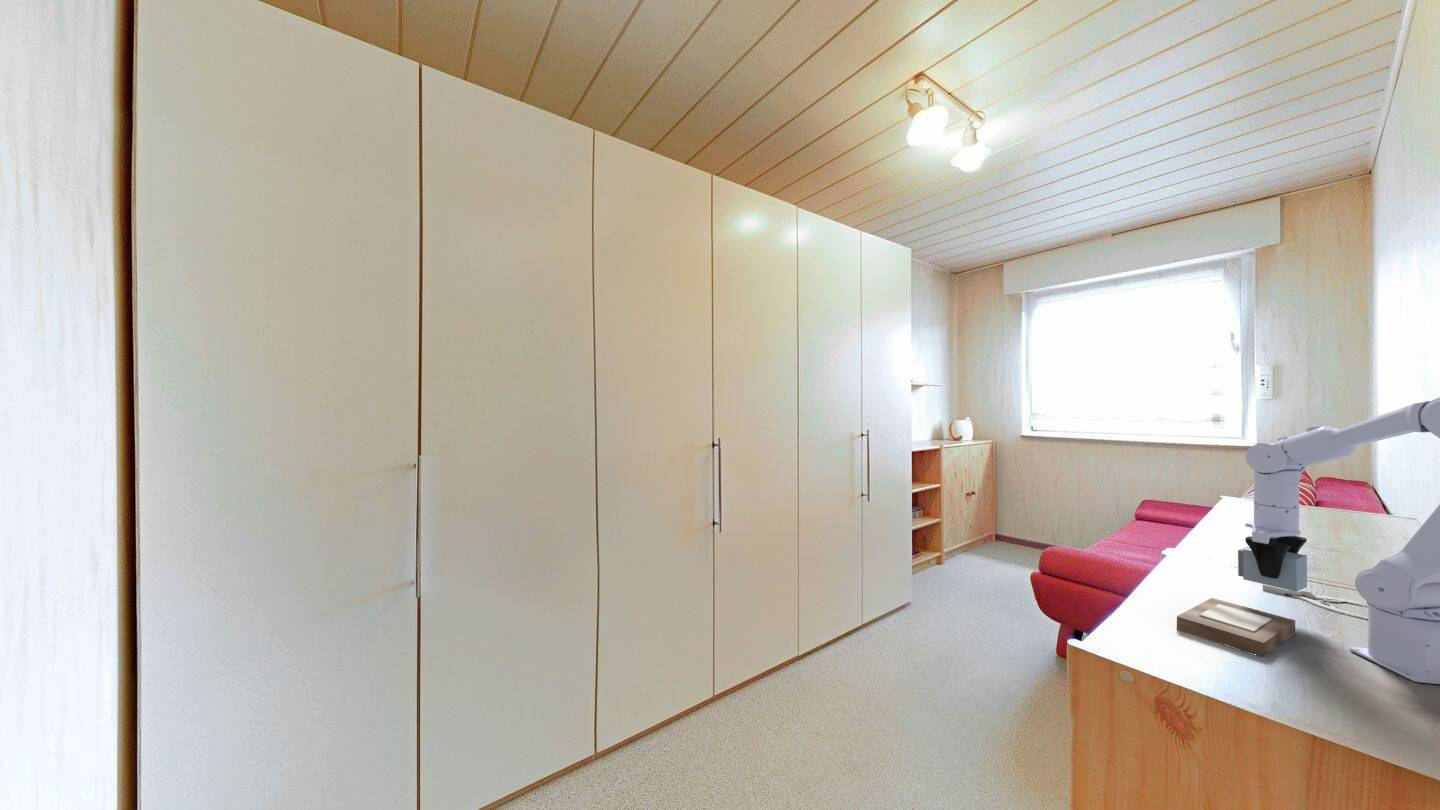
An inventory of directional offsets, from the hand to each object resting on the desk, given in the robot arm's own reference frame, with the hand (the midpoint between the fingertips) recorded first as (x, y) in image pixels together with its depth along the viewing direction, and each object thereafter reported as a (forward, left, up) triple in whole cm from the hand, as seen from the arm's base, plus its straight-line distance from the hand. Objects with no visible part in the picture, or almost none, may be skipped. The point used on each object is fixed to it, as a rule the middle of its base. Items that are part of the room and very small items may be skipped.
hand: (1275, 574), depth 93 cm
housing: (0, 0, -2) cm, 2 cm away
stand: (-8, +12, -8) cm, 17 cm away
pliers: (+10, -15, -9) cm, 20 cm away
